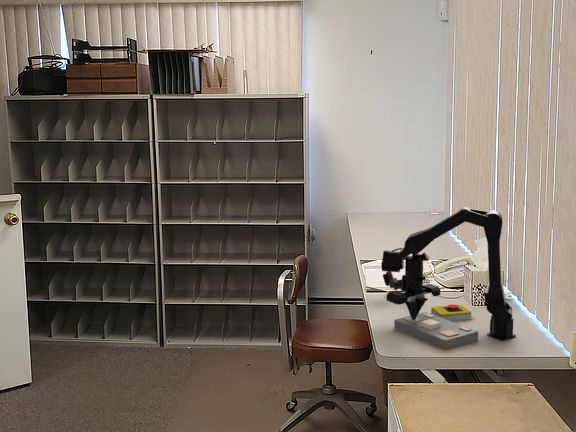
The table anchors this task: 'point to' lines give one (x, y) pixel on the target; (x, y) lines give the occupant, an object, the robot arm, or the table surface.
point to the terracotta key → (448, 333)
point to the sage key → (413, 320)
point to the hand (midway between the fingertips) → (413, 319)
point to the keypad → (437, 331)
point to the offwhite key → (430, 324)
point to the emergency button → (452, 312)
